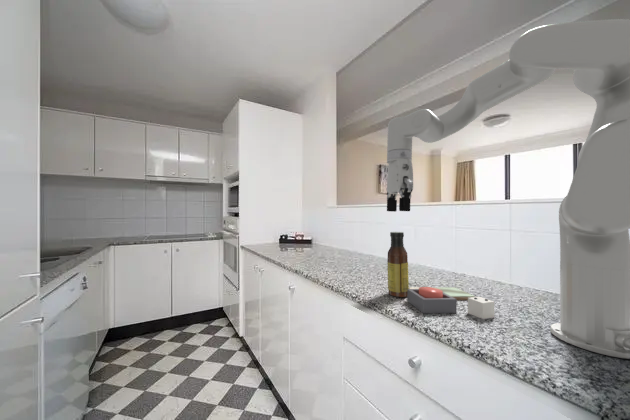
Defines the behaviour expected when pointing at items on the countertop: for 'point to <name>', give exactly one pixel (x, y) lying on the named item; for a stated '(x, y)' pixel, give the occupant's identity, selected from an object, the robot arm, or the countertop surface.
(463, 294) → the board
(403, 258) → the sauce bottle
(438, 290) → the dome button
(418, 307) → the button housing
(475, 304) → the die
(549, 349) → the countertop surface
